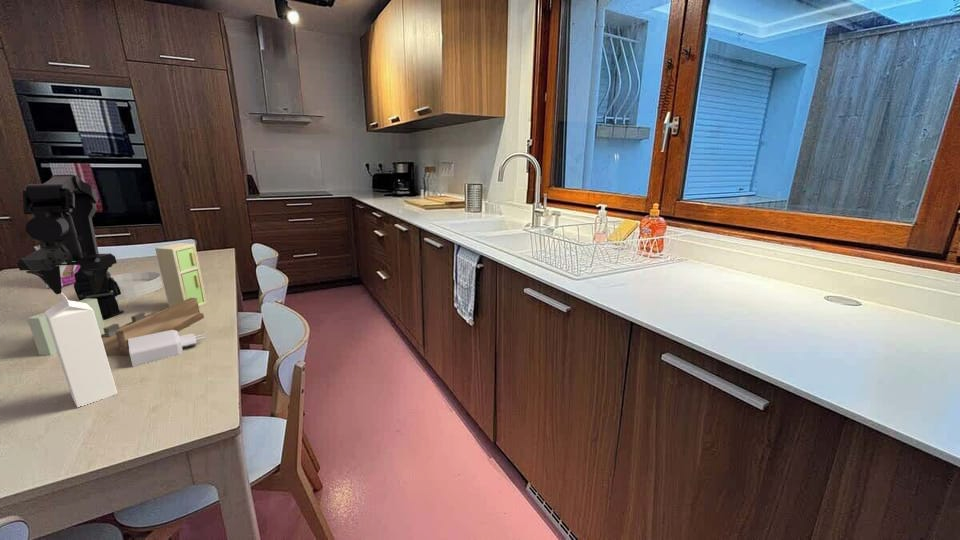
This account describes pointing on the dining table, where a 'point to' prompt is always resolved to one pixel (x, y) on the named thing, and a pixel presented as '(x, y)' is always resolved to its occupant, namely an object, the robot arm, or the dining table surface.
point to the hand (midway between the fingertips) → (77, 293)
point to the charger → (159, 346)
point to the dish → (137, 284)
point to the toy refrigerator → (181, 273)
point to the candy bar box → (65, 273)
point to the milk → (80, 351)
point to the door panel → (44, 334)
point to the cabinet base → (150, 325)
